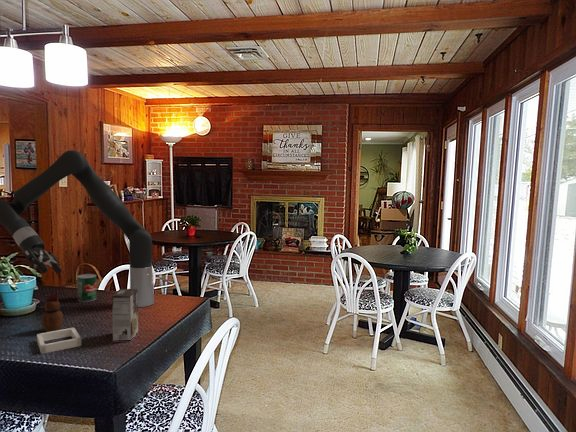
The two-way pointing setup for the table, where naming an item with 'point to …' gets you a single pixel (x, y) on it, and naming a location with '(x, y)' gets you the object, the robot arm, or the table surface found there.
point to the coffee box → (125, 314)
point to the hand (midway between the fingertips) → (53, 272)
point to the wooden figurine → (52, 314)
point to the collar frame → (61, 344)
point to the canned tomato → (86, 287)
